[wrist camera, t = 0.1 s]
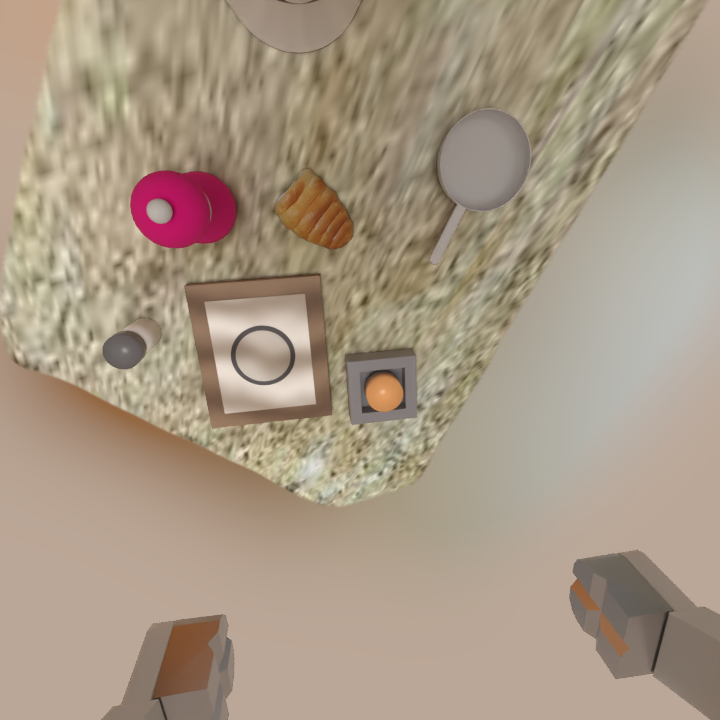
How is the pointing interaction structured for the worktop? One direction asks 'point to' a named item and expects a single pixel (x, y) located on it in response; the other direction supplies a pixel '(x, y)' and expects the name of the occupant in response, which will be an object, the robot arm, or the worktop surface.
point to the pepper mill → (182, 208)
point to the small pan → (481, 166)
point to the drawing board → (261, 349)
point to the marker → (131, 343)
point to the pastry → (314, 212)
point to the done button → (383, 391)
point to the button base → (372, 362)
